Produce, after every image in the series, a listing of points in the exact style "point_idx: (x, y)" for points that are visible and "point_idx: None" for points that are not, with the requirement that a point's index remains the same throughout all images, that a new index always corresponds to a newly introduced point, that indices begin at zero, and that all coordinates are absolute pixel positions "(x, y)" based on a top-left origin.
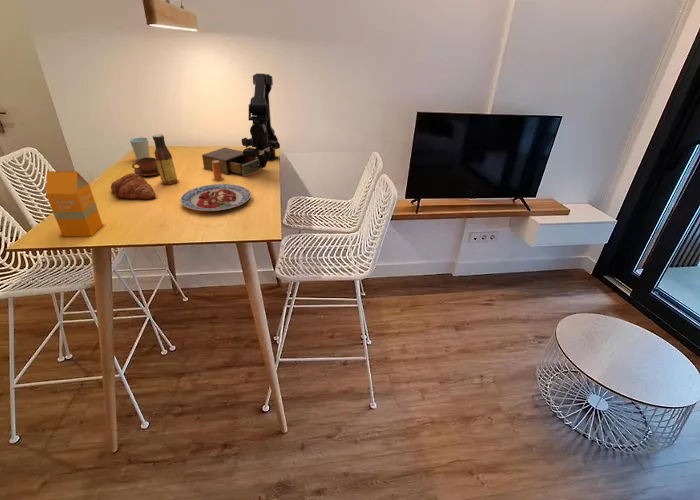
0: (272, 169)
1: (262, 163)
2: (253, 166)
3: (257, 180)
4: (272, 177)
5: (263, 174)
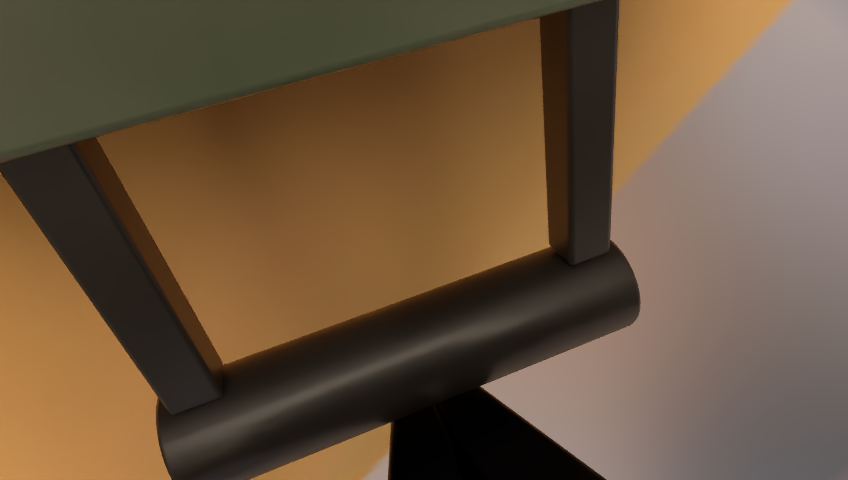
0: (730, 32)
1: None
2: (128, 332)
3: (104, 386)
4: None
5: (415, 167)
